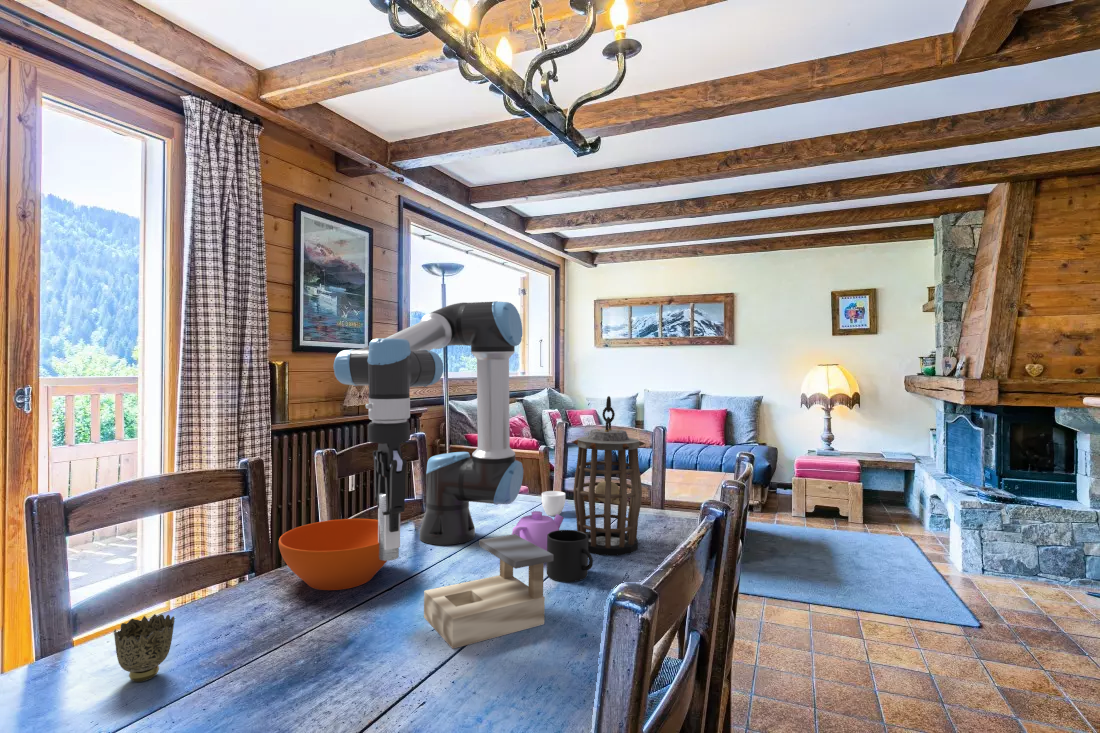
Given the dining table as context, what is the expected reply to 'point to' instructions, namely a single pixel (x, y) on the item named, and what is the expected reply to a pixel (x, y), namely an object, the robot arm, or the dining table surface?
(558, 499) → the cup
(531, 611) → the socket porch
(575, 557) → the mug
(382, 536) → the peg
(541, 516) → the teapot
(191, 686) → the dining table surface
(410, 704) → the dining table surface
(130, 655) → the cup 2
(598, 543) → the lantern
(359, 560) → the bowl
